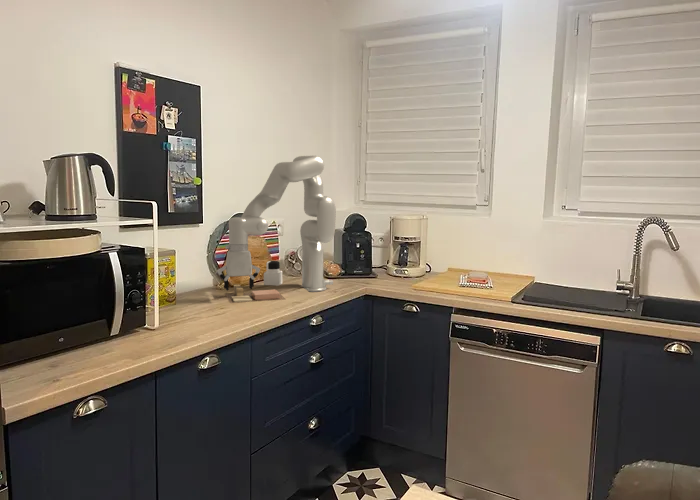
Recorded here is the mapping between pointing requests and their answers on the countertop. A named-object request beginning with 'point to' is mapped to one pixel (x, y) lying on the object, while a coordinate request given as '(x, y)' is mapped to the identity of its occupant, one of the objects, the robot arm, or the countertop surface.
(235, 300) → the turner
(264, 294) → the tile
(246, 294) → the board
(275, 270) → the medicine bottle
